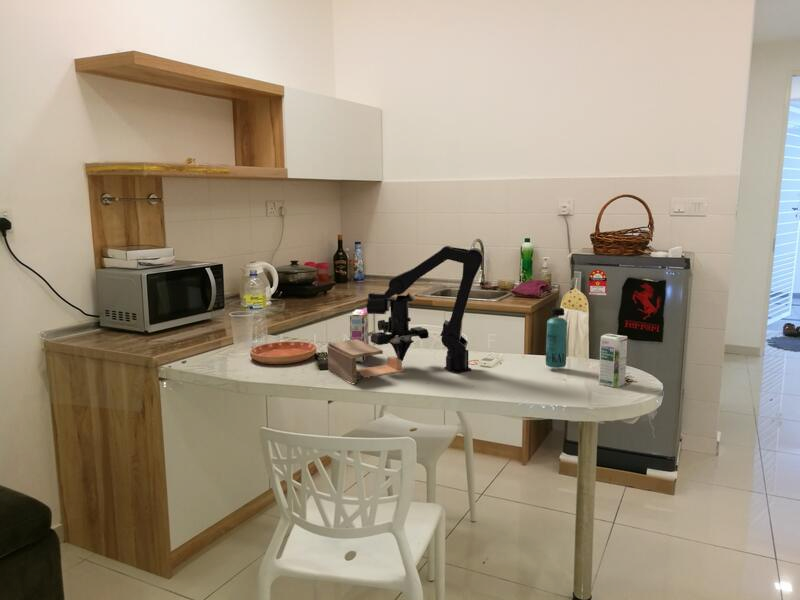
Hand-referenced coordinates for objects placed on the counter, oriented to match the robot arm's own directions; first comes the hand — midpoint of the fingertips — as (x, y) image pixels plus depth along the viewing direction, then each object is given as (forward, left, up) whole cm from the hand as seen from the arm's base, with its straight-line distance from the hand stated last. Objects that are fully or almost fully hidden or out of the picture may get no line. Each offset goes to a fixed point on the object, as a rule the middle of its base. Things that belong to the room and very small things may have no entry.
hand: (400, 361), depth 204 cm
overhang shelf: (+16, -1, -2) cm, 16 cm away
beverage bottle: (-40, +29, -2) cm, 50 cm away
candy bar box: (+6, -18, -2) cm, 19 cm away
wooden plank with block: (+8, 0, -3) cm, 9 cm away
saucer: (+28, -34, -3) cm, 44 cm away
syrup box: (-43, +49, -2) cm, 65 cm away
